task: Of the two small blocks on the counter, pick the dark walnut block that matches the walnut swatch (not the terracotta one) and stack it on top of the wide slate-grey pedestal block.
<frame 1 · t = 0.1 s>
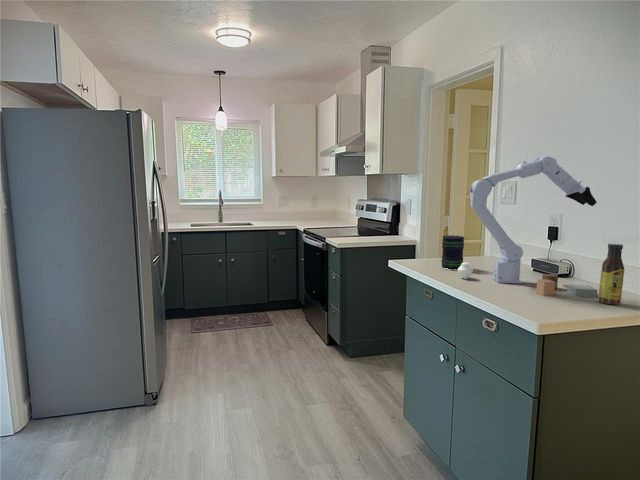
hand: (589, 203, 163), 32 cm above the table, tool tilted 50°, fingers open, 7 cm apart
sauce bottle: (609, 303, 140), on the table
storage jar: (451, 268, 199), on the table
pedestal block: (581, 295, 152), on the table
walnut block: (549, 288, 161), on the table
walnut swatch: (572, 287, 161), on the table
white rounded piece: (464, 278, 177), on the table
terracotta block: (545, 294, 152), on the table
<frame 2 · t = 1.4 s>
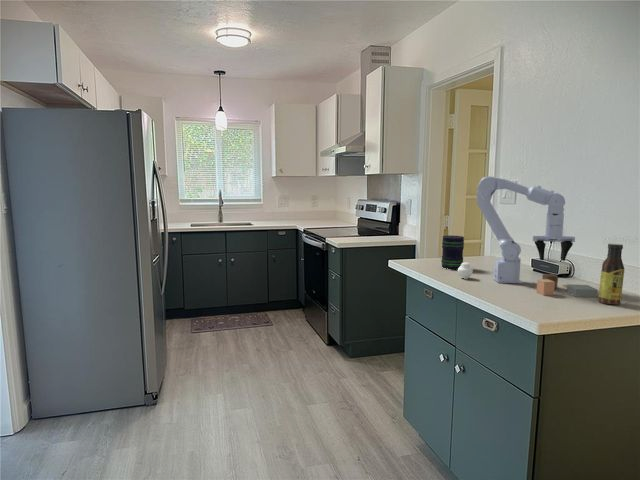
hand: (552, 260, 163), 10 cm above the table, tool pointing down, fingers open, 7 cm apart
nothing on the table moved.
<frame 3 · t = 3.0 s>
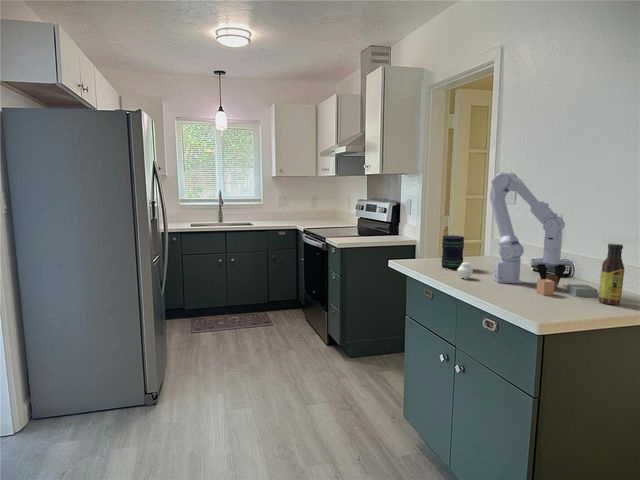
hand: (549, 284, 161), 1 cm above the table, tool pointing down, fingers closed on walnut block, 4 cm apart
walnut block: (549, 287, 161), on the table, touching gripper
everything else where it was.
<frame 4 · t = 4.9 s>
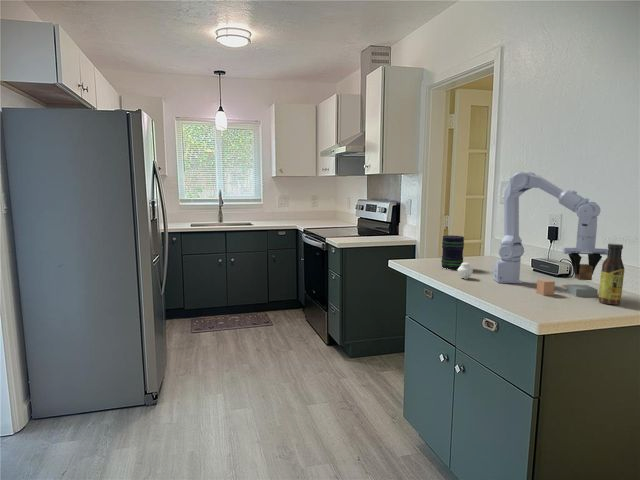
hand: (583, 274, 151), 7 cm above the table, tool pointing down, fingers closed on walnut block, 4 cm apart
walnut block: (582, 278, 151), point 6 cm above the table, touching gripper
everything else where it was.
when the fingers open (6 cm above the table, at t = 5.5 s): walnut block drops 2 cm, resting on pedestal block.
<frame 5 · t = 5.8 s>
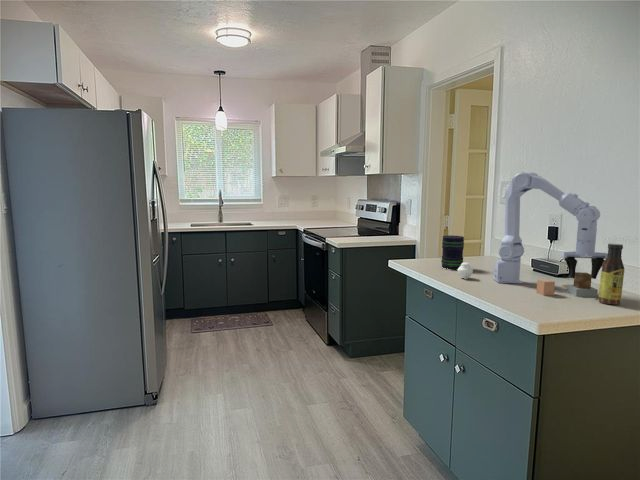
hand: (582, 278, 151), 6 cm above the table, tool pointing down, fingers open, 6 cm apart
pedestal block: (581, 295, 152), on the table, touching walnut block
walnut block: (581, 287, 151), point 3 cm above the table, touching pedestal block
everything else where it was.
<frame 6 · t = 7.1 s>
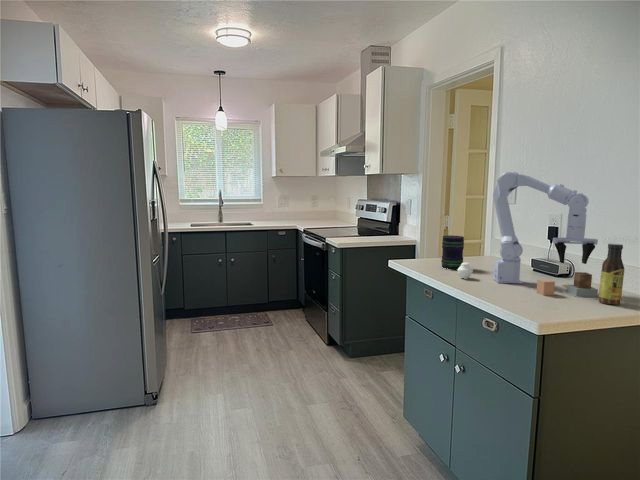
hand: (572, 263, 156), 10 cm above the table, tool pointing down, fingers open, 7 cm apart
pedestal block: (581, 295, 152), on the table
walnut block: (582, 287, 151), point 3 cm above the table
everything else where it was.
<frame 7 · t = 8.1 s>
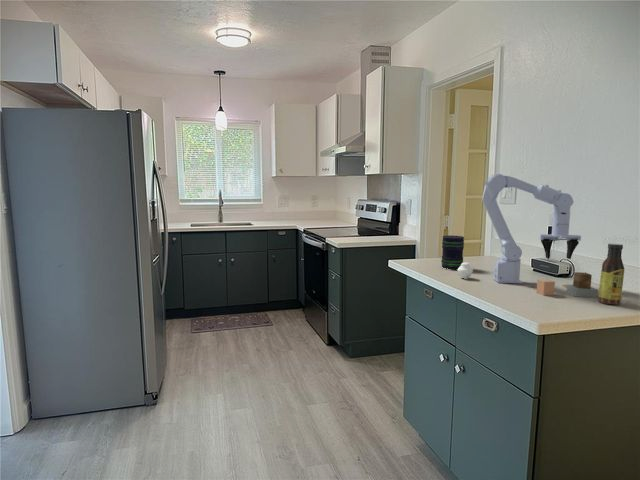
hand: (558, 258, 166), 10 cm above the table, tool pointing down, fingers open, 7 cm apart
pedestal block: (581, 295, 152), on the table, touching walnut block
walnut block: (581, 287, 151), point 3 cm above the table, touching pedestal block
everything else where it was.
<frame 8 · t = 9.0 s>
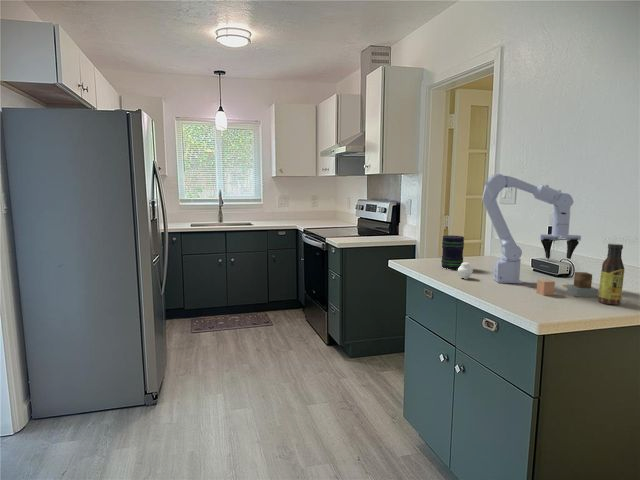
hand: (558, 258, 166), 10 cm above the table, tool pointing down, fingers open, 7 cm apart
nothing on the table moved.
at the end: walnut block 0.2 cm off-centre on the pedestal block, point 3.0 cm above the pedestal block's base; walnut block tilted 1°; terracotta block moved 0.1 cm from its start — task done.
